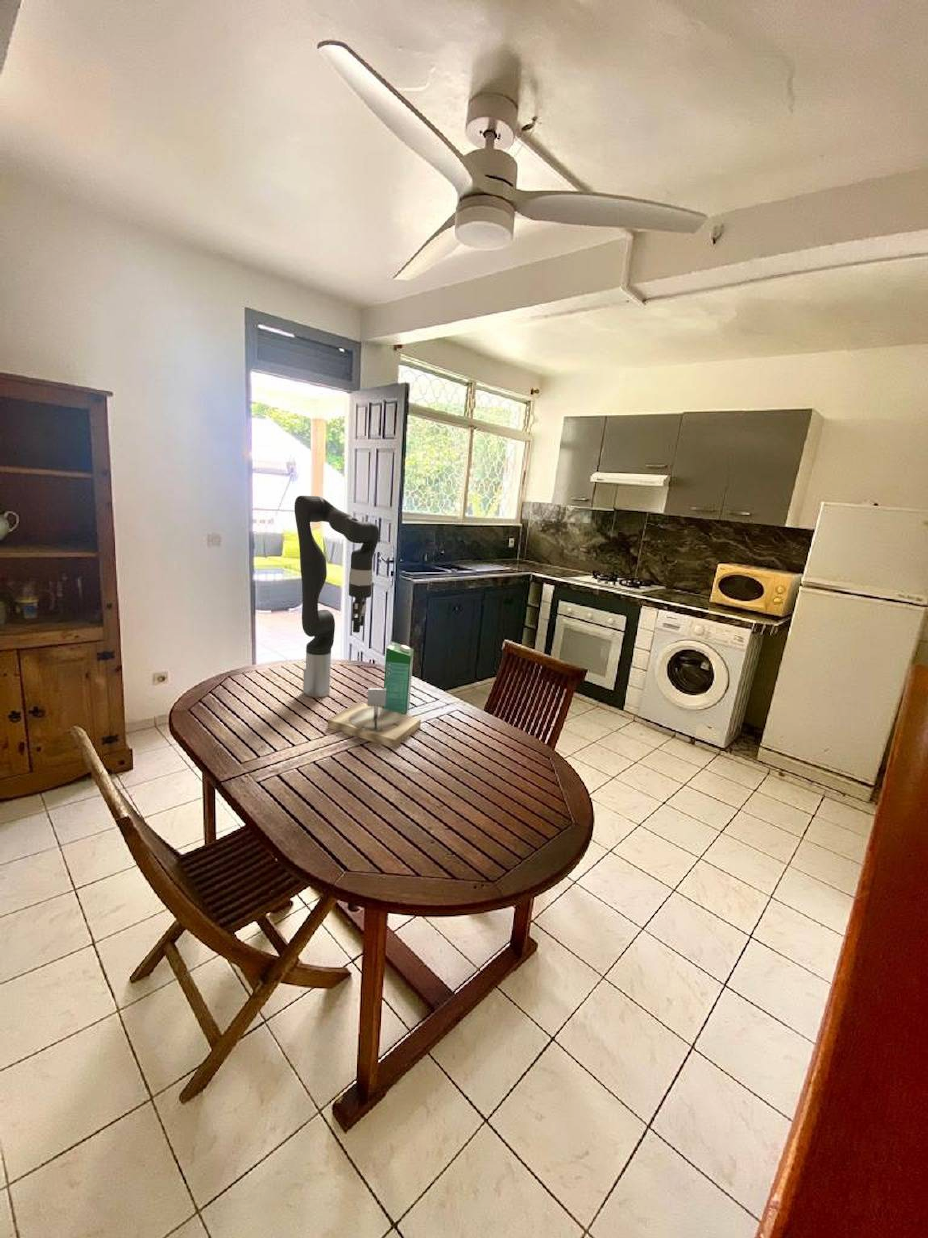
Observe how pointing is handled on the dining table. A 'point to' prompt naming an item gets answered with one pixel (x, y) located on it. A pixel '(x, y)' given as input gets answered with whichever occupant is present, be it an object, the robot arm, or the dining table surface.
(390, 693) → the milk carton
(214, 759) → the dining table surface
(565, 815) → the dining table surface
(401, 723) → the dial board
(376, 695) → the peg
